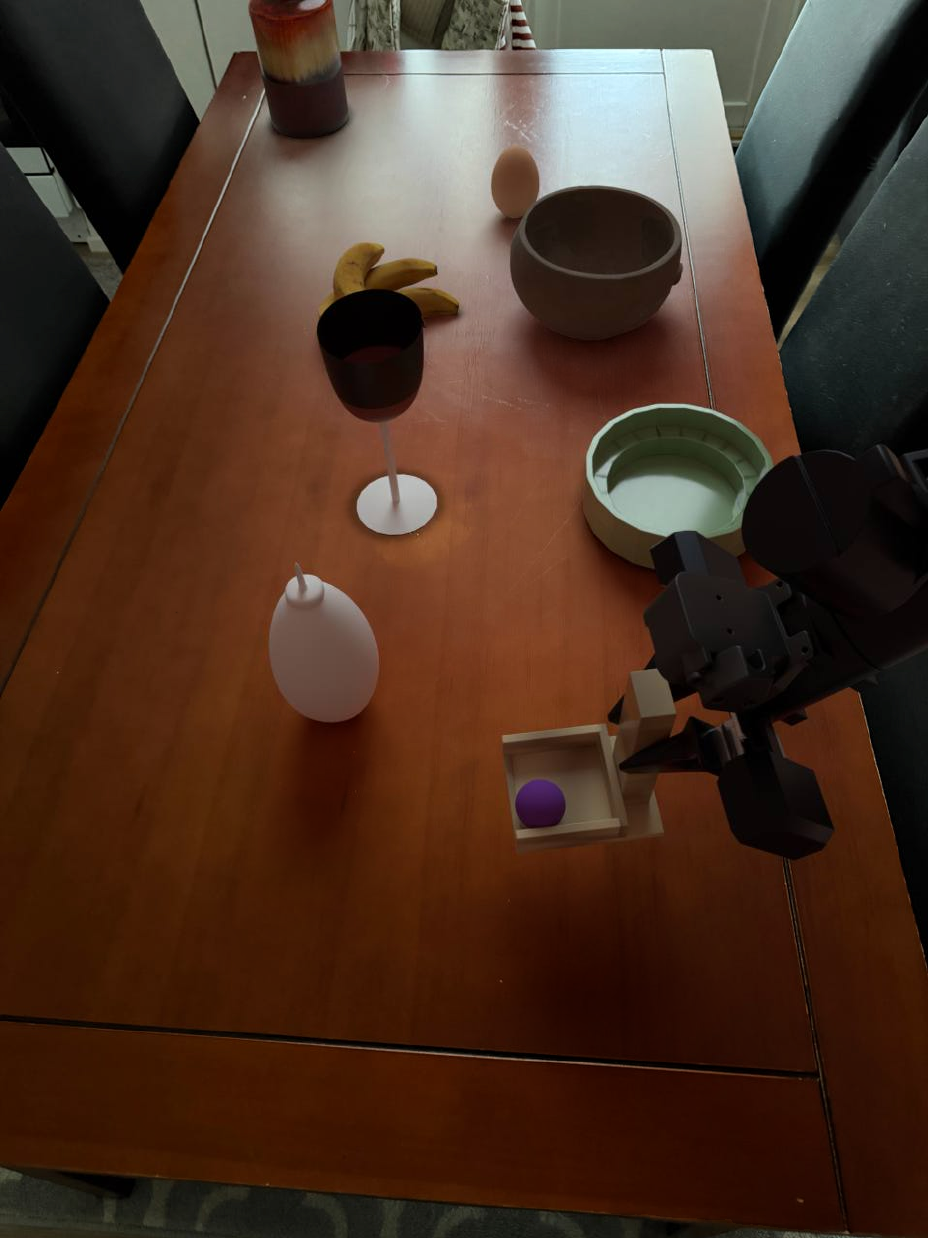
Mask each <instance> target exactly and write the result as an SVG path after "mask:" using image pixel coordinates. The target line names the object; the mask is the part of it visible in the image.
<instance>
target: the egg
mask: <svg viewBox="0 0 928 1238" xmlns="http://www.w3.org/2000/svg"><path fill="white" fill-rule="evenodd" d="M490 179H491V181H490V192H491V196H492V201H493V203H494V205H495V207H496V208H497V209H498V210H499V211H500V213H501V214H502V215H504V216H505V217H507V218H509V219H510V218H511V219H519V218H523V217H524V215H525V213H526V211H527V210H528V208H529V207H530V206H531V205H532V204H534V203H535V202H536V201H538V198H539V193H540V187H541V186H540V173H539V170H538V166H537V163H536V161H535V159H534V157H533V156H532V154H531V152H529V151H528V150H527V149H526V148H525V147H524V146H521V145H511V146H509V147H507V148H506V149H504V150H503V151H502V152H501V154H500V155H499V156H498V158H497V160H496V162H495V164H494V166H493V170H492V173H491V178H490Z"/></svg>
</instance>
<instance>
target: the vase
mask: <svg viewBox="0 0 928 1238" xmlns="http://www.w3.org/2000/svg"><path fill="white" fill-rule="evenodd" d="M247 7H248V9H247V10H248V15H249V19H250V20H249V21H250V25H251V30H252V35H253V40H254V46H255V49H256V54H257V59H258V65H259V69H260V72H261V77H262V83H263V87H264V93H265V96H266V102H267V107H268V112H269V116H270V121H271V125H272V127H273V129H274V130H276V131H277V132H278V133H280V134H281V135H284V136H287V137H290V138H298V139H311V138H319V137H322V136H326V135H329V134H332V133H334V132H336V131H338V130H339V129H341V128H342V127H343V126H345V124H346V123H347V121H348V119H349V113H350V111H349V103H348V98H347V97H348V96H347V90H346V84H345V77H344V68H343V61H342V54H341V48H340V47H341V46H340V41H339V39H340V38H339V33H338V25H337V18H336V12H335V5H334V0H249V2H248V6H247Z"/></svg>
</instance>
